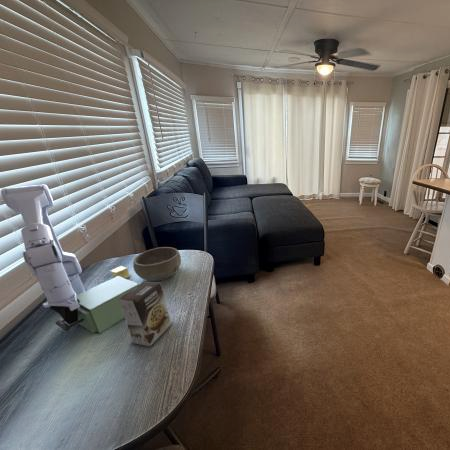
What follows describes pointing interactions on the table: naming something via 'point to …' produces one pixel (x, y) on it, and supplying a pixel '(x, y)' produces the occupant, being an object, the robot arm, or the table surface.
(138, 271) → the bowl
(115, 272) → the block
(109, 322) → the pale mint box
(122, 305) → the brown food box
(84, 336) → the table surface
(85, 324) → the drawer
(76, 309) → the robot arm
